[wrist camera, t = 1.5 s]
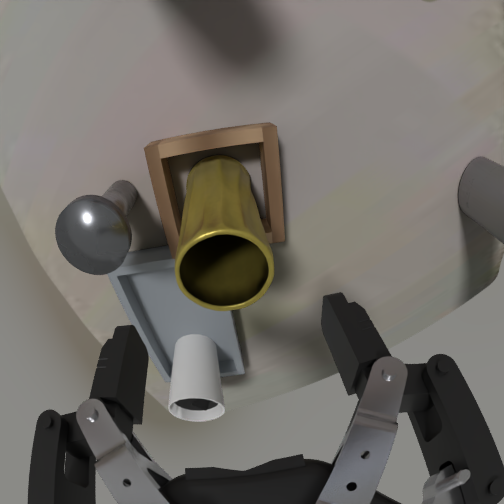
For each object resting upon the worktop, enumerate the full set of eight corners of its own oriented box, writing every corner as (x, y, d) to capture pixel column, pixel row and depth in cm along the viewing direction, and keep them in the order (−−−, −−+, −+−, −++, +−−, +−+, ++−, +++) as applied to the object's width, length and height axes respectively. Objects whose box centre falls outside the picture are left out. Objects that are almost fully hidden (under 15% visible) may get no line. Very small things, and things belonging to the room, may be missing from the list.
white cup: (224, 335, 37) (231, 400, 28) (213, 364, 40) (218, 423, 31) (175, 328, 35) (171, 394, 26) (169, 358, 38) (166, 418, 29)
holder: (269, 122, 24) (276, 126, 21) (278, 227, 30) (284, 241, 27) (151, 141, 23) (143, 148, 21) (175, 243, 29) (172, 259, 27)
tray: (217, 237, 29) (217, 251, 27) (242, 358, 41) (244, 373, 38) (112, 255, 29) (105, 269, 26) (166, 367, 40) (165, 382, 38)
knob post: (143, 158, 24) (112, 192, 16) (157, 215, 27) (138, 268, 20) (89, 173, 24) (44, 211, 16) (106, 226, 27) (73, 279, 19)
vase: (234, 222, 29) (252, 327, 17) (177, 202, 27) (153, 300, 15) (261, 169, 26) (304, 245, 14) (200, 145, 24) (187, 202, 12)
